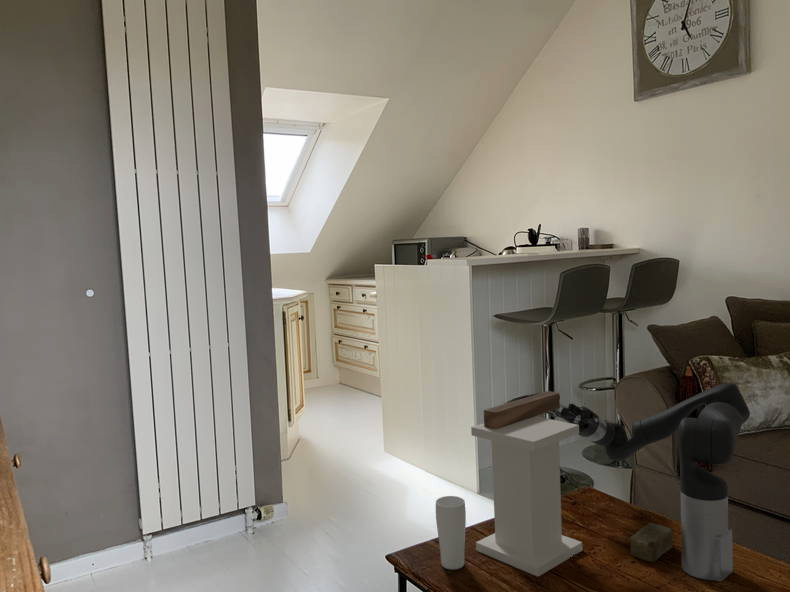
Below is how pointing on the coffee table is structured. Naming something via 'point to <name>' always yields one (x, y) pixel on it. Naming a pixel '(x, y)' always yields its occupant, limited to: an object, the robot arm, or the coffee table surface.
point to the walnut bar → (521, 409)
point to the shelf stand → (528, 495)
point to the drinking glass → (451, 530)
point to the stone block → (651, 542)
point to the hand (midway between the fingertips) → (555, 404)
